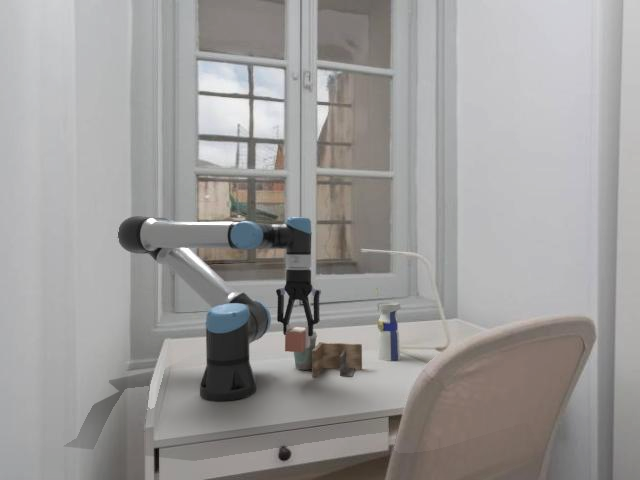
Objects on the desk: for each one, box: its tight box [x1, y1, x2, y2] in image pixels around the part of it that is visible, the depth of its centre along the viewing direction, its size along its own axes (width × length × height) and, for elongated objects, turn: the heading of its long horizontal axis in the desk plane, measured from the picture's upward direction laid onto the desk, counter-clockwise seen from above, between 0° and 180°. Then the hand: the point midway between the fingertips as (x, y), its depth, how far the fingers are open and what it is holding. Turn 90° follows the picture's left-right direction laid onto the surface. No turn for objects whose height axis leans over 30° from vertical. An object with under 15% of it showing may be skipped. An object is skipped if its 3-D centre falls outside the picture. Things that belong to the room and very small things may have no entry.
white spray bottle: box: [375, 289, 402, 362], centre depth 144 cm, size 8×9×25 cm
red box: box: [284, 326, 311, 353], centre depth 122 cm, size 5×9×6 cm, turn 165°
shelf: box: [311, 341, 363, 378], centre depth 128 cm, size 14×11×8 cm
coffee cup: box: [293, 329, 318, 371], centre depth 134 cm, size 8×9×12 cm
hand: (298, 346), depth 122 cm, fingers closed on red box, 5 cm apart
